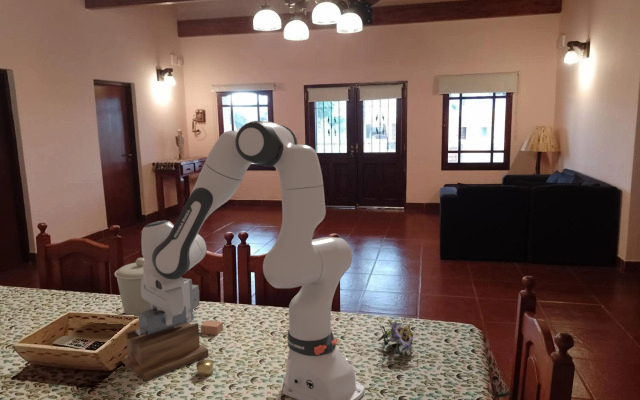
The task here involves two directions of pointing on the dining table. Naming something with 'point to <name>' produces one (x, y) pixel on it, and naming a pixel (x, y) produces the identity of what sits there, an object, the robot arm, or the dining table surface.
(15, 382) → the dining table surface
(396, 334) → the passion flower
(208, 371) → the brass knob
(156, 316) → the slider plate with knob
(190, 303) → the circuit breaker
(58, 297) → the dining table surface
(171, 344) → the stand
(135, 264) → the canister
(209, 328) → the terracotta block
